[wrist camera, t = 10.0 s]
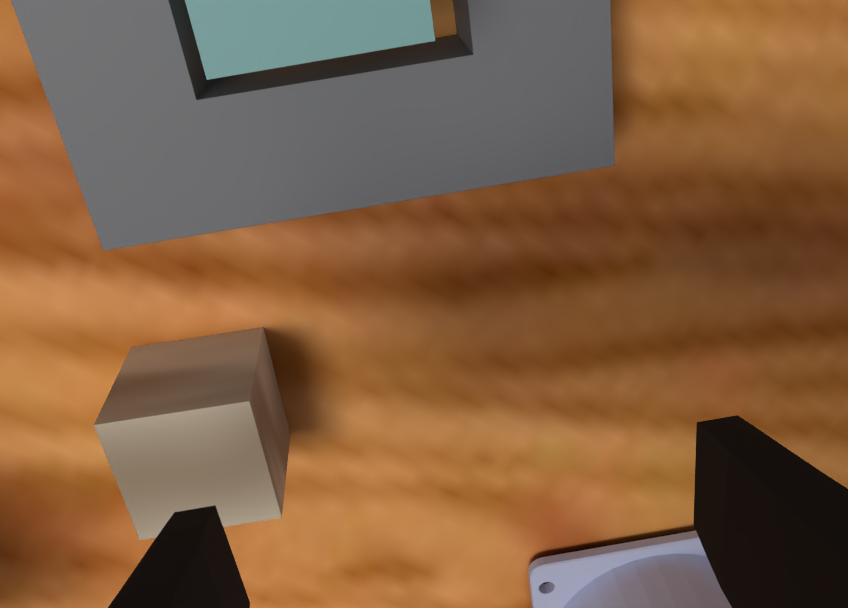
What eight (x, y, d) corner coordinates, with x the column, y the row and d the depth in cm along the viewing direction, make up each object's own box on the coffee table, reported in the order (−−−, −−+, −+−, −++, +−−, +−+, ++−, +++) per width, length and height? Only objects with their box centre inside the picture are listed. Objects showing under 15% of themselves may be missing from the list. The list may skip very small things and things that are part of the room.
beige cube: (290, 431, 22) (281, 517, 19) (168, 450, 22) (140, 539, 19) (263, 325, 21) (249, 401, 18) (131, 346, 21) (94, 425, 17)
